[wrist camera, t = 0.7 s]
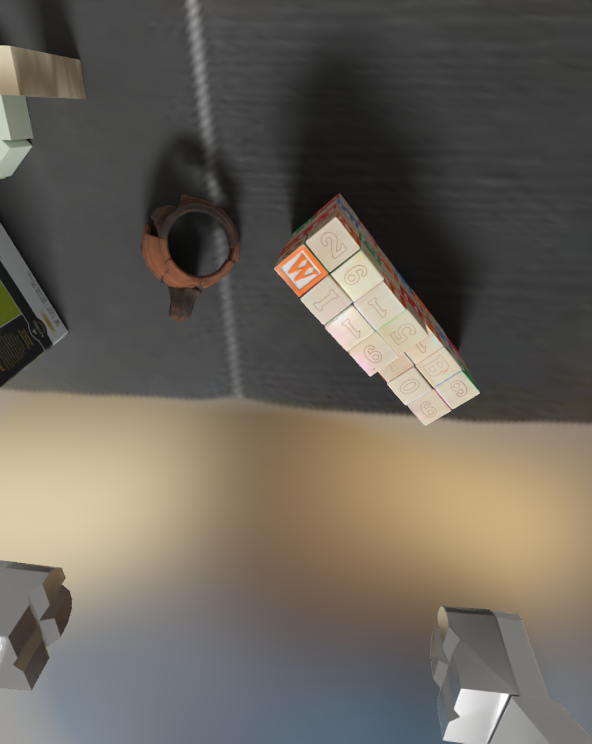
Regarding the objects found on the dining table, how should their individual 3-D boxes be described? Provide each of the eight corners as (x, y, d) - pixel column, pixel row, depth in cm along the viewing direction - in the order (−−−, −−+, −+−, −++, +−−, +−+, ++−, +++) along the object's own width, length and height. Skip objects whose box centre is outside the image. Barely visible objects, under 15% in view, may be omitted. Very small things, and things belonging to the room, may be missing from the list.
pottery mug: (136, 194, 48) (145, 186, 41) (229, 204, 52) (252, 199, 44) (137, 314, 51) (146, 327, 43) (225, 316, 54) (246, 328, 47)
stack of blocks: (460, 350, 52) (490, 412, 41) (412, 381, 54) (428, 447, 44) (338, 190, 46) (335, 214, 35) (289, 233, 48) (272, 268, 37)
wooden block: (47, 58, 42) (-31, 44, 34) (80, 60, 42) (10, 45, 33) (54, 97, 44) (-20, 93, 35) (85, 99, 44) (20, 95, 35)
